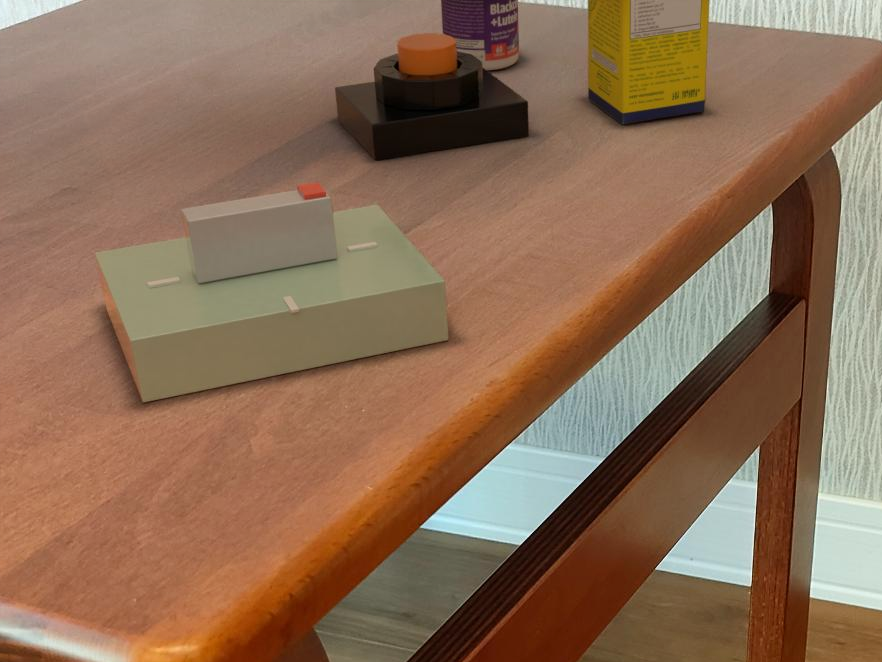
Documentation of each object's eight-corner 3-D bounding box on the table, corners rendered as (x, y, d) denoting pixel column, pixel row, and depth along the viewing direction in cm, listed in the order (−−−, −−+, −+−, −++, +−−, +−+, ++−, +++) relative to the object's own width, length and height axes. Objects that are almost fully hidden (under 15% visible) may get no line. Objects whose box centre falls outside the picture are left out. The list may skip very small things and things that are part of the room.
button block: (375, 160, 84) (369, 94, 82) (337, 121, 90) (331, 57, 88) (529, 136, 87) (527, 71, 85) (483, 99, 93) (480, 37, 91)
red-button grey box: (198, 284, 63) (186, 215, 61) (191, 270, 64) (179, 203, 62) (338, 259, 65) (331, 191, 63) (328, 246, 66) (321, 180, 64)
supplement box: (666, 87, 95) (672, -87, 88) (706, 114, 90) (715, -68, 84) (584, 99, 93) (585, -78, 87) (621, 126, 88) (624, -58, 82)
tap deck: (144, 406, 60) (130, 340, 58) (105, 307, 68) (92, 246, 66) (451, 343, 64) (447, 280, 63) (380, 257, 72) (375, 198, 71)
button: (409, 82, 85) (408, 52, 84) (391, 66, 87) (389, 37, 86) (465, 74, 86) (464, 44, 85) (445, 58, 88) (444, 30, 87)
